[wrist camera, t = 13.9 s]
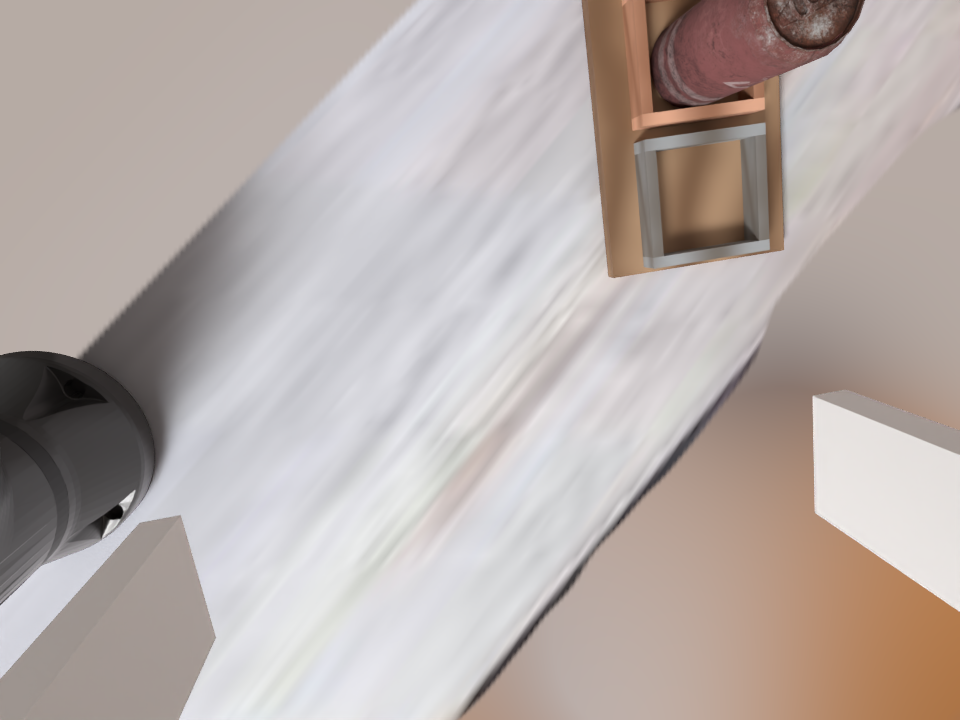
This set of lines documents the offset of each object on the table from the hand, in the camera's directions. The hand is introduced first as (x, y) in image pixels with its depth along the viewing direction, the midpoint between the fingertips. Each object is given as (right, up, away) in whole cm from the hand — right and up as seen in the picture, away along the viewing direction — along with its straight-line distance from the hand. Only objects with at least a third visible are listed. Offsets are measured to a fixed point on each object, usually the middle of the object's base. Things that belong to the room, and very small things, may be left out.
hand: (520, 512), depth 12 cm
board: (+15, +21, +33) cm, 42 cm away
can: (+14, +25, +31) cm, 42 cm away
